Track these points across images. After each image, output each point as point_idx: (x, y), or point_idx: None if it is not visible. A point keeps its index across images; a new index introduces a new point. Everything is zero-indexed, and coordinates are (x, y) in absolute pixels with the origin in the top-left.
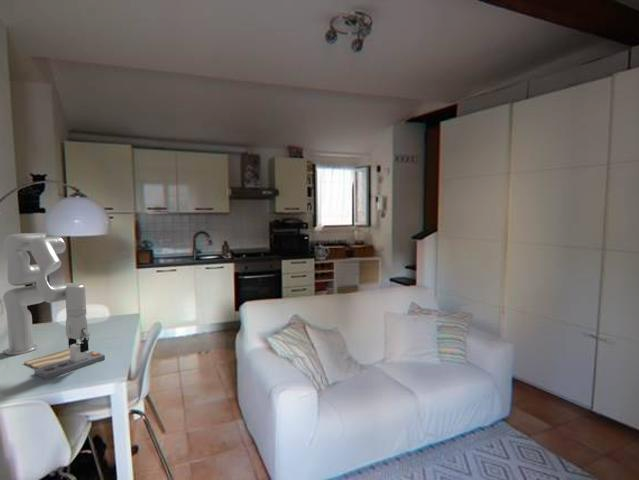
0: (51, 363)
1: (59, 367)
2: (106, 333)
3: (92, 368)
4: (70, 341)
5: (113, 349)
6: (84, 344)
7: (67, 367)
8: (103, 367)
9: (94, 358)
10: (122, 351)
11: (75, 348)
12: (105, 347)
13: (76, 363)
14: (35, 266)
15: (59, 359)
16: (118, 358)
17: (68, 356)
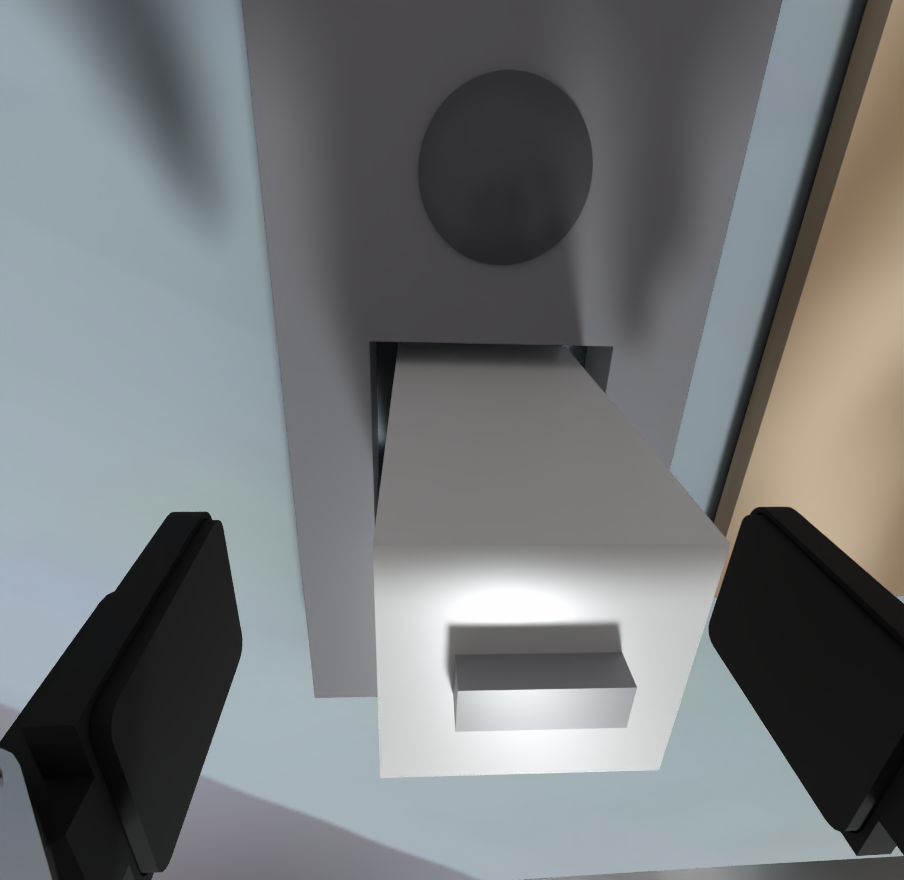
0: (885, 177)
1: (406, 41)
2: None
3: (137, 437)
4: (884, 683)
5: (556, 802)
6: (19, 760)
7: (260, 141)
8: (53, 524)
9: (310, 588)
10: (410, 815)
11: (375, 527)
12: (694, 792)
13: (331, 348)
14: None
15: (894, 349)
16: (233, 725)
17: (853, 477)
